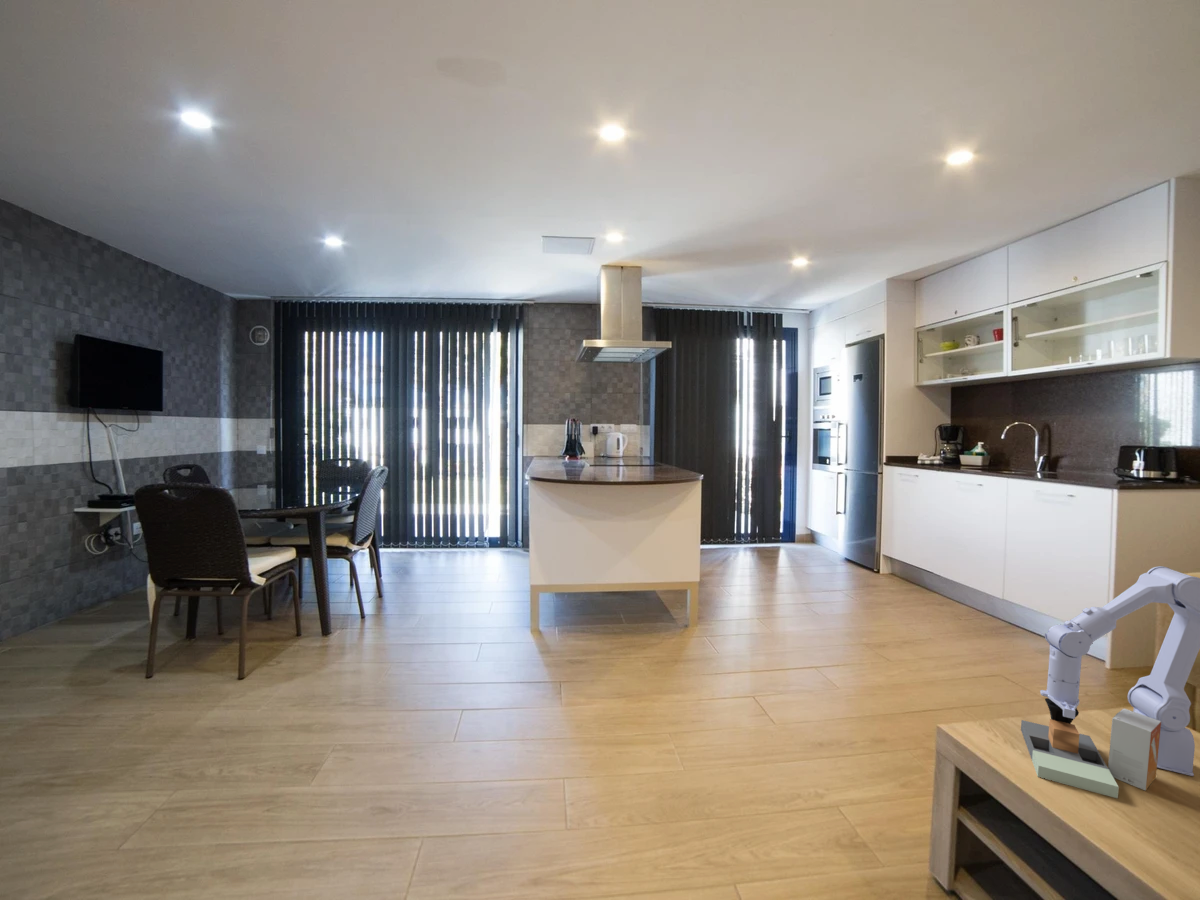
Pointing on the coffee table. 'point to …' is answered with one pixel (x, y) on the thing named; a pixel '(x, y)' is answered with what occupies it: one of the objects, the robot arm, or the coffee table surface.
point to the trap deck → (1068, 761)
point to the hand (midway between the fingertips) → (1059, 733)
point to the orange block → (1063, 736)
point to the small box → (1134, 748)
